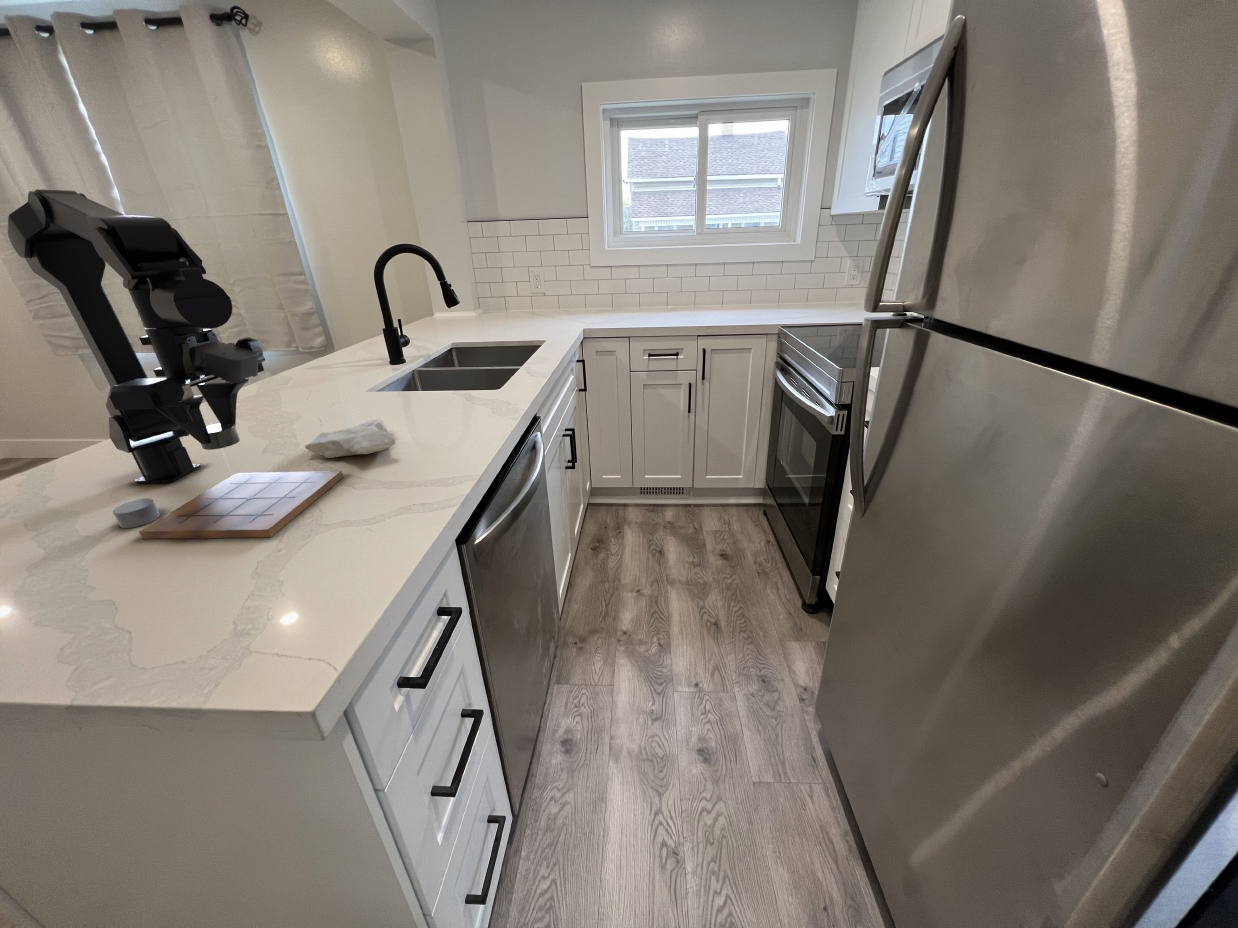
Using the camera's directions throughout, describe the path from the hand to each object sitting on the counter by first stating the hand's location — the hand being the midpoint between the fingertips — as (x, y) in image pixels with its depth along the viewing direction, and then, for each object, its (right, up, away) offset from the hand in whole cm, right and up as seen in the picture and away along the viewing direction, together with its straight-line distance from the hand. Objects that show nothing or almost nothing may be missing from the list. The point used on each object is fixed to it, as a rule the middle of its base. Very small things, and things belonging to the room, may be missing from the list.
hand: (218, 437), depth 71 cm
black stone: (0, -1, 0) cm, 1 cm away
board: (+2, -10, +4) cm, 11 cm away
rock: (+8, -2, +22) cm, 23 cm away
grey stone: (-12, -12, +1) cm, 17 cm away
